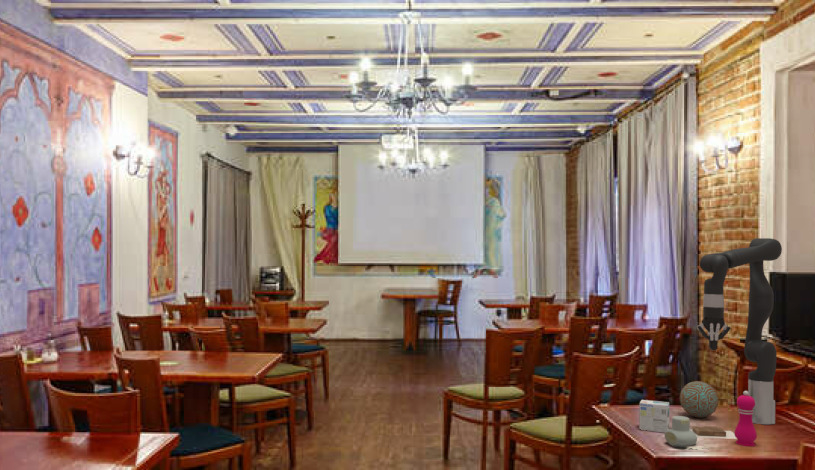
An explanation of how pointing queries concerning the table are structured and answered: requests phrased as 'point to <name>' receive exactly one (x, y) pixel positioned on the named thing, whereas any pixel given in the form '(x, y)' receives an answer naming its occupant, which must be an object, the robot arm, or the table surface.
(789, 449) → the table surface
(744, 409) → the pepper mill
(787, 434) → the table surface
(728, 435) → the board
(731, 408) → the table surface
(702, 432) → the wooden block
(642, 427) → the light bulb box
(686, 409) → the decorative sphere
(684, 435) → the air freshener
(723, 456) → the table surface
